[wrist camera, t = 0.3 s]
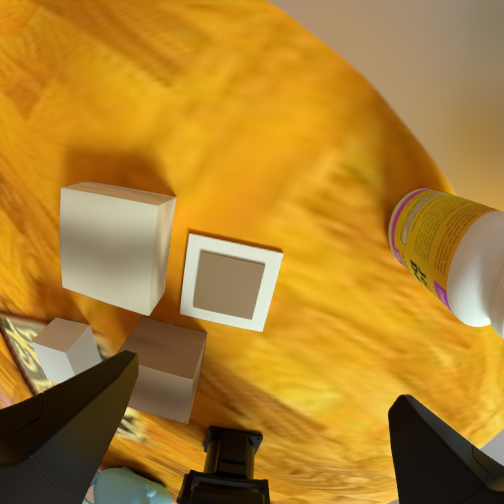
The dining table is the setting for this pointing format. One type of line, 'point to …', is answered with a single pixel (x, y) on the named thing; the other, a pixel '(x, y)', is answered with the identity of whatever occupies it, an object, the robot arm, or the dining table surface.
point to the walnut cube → (166, 368)
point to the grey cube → (65, 349)
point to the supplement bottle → (453, 252)
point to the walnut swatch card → (228, 282)
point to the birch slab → (115, 243)
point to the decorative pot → (126, 488)
